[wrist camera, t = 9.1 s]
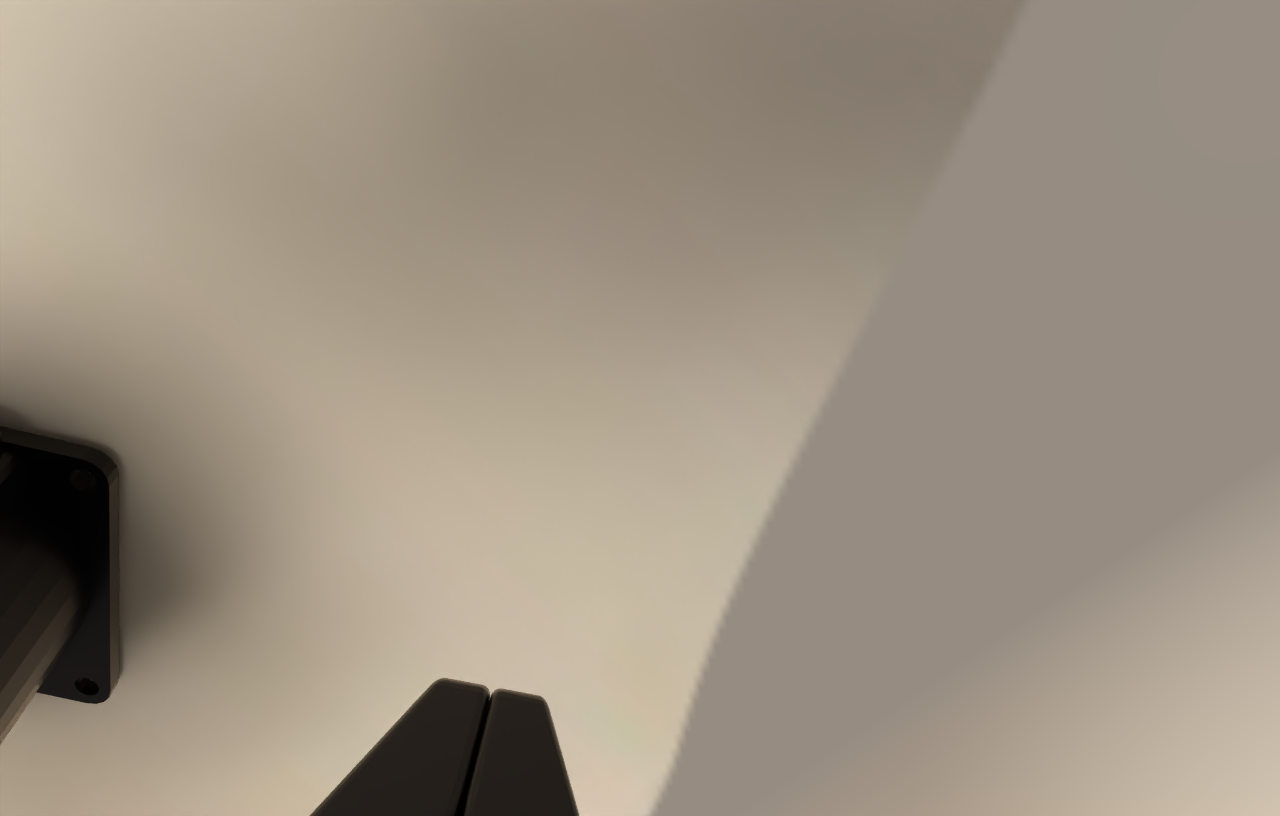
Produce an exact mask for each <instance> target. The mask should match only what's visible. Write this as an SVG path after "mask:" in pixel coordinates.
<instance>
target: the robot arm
mask: <svg viewBox="0 0 1280 816" xmlns="http://www.w3.org/2000/svg"><path fill="white" fill-rule="evenodd" d="M80 470H84V471H87V472H89V473H90V474H91V475H92V476H93V477H94V478H95V479H91V478H88V477H86V476H85V475H84V474H83V473H82V472H81V471H80ZM90 679H91V680H90ZM118 679H119V474H118V470H117V466H116V464H115V463H114V462H113V460H112V459H111V458H110V457H109V456H108V455H106V454H105V453H104V452H102V451H100V450H97V449H95V448H92V447H88V446H84V445H79V444H75V443H70V442H66V441H62V440H57V439H53V438H48V437H44V436H39V435H35V434H31V433H26V432H22V431H17V430H13V429H8V428H4V427H0V744H1V743H2V741H3V740H4V738H5V737H6V736H7V734H8V733H9V731H10V730H11V728H12V727H13V725H14V724H15V722H16V721H17V719H18V718H19V717H20V715H21V714H22V712H23V711H24V709H25V708H26V706H27V705H28V703H29V702H30V700H31V699H32V697H33V696H34V695H35V693H36V692H38V693H42V694H47V695H52V696H56V697H61V698H66V699H70V700H75V701H80V702H84V703H92V704H97V703H101V702H104V701H105V700H107V699H108V698H109V696H110V695H111V693H112V692H113V690H114V688H115V687H116V685H117V683H118ZM92 680H93V681H92ZM310 816H579V813H578V809H577V805H576V802H575V798H574V795H573V791H572V788H571V784H570V781H569V777H568V774H567V770H566V767H565V763H564V760H563V756H562V752H561V749H560V745H559V742H558V738H557V735H556V731H555V728H554V724H553V721H552V717H551V714H550V710H549V707H548V705H547V703H546V701H545V699H543V698H542V697H541V696H538V695H533V694H527V693H522V692H517V691H512V690H506V689H497V690H495V691H494V692H493V693H492V695H491V697H490V692H489V690H488V688H487V687H486V686H483V685H480V684H474V683H469V682H464V681H458V680H453V679H448V678H442V679H439V680H437V681H435V682H434V683H433V684H432V685H431V686H430V687H429V688H428V689H427V690H426V691H425V692H424V693H423V694H422V695H421V696H420V697H419V698H418V699H417V701H416V702H415V703H414V704H413V705H412V706H411V707H410V708H409V709H408V710H407V711H406V712H405V713H404V715H403V716H402V717H401V718H400V719H399V720H398V721H397V722H396V723H395V724H394V725H393V726H392V728H391V729H390V730H389V731H388V732H387V733H386V734H385V735H384V736H383V737H382V738H381V739H380V740H379V742H378V743H377V744H376V745H375V746H374V747H373V748H372V749H371V750H370V751H369V752H368V753H367V755H366V756H365V757H364V758H363V759H362V760H361V761H360V762H359V763H358V764H357V765H356V766H355V767H354V769H353V770H352V771H351V772H350V773H349V774H348V775H347V776H346V777H345V778H344V779H343V780H342V781H341V783H340V784H339V785H338V786H337V787H336V788H335V789H334V790H333V791H332V792H331V793H330V794H329V796H328V797H327V798H326V799H325V800H324V801H323V802H322V803H321V804H320V805H319V806H318V807H317V808H316V810H315V811H314V812H313V813H312V814H311V815H310Z"/></svg>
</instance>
